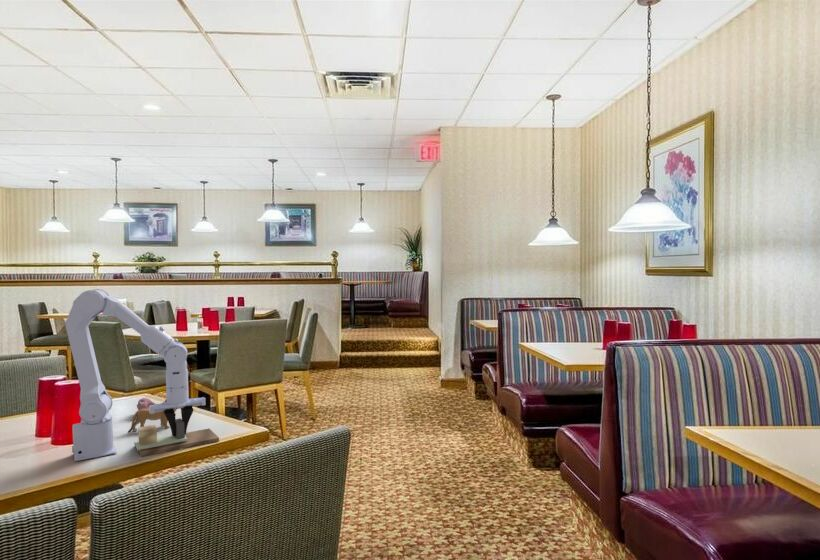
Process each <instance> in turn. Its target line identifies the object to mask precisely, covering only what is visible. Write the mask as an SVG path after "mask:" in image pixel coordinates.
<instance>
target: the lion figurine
mask: <svg viewBox="0 0 820 560" xmlns="http://www.w3.org/2000/svg"><path fill="white" fill-rule="evenodd" d="M164 402H167V398H166V399H165V400H164V401H163V402H162V403H164ZM177 410H178V409H174V413H176V411H177ZM146 420H149V421H158V420H160V426H161V427H162V428H163V427H164V428H165V429H169V428H170V425H168V423H169V422H168V420H167V418H166V416H165V414H164V413H163V411H162V412H155V413H153V414H150V413H149V409H140V410H138V409H137V411H136V412H135V413H134V415H133V417H132V420H131V421H132V422H131V427H130V428H129V430H128V431H127V433H131V432H138V428H137V425H139V424H140V426H139V427H144V426H145V423H146Z"/></svg>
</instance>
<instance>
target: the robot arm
mask: <svg viewBox="0 0 820 560" xmlns="http://www.w3.org/2000/svg"><path fill="white" fill-rule="evenodd" d="M101 313H102V314H101ZM100 314H101V315H104V316H110V317H115V318H116V319H118V320H120V321H121V322H122V323H124V324H126V325H127V326H128V327H130V328H131V329H133V331H135V332H137V333H138V334H140V341H141V342H142V343H143V345H144V344H145V345H146V346H147V347H148V348H149V349H150V350H152V351H153V352H155V353H156V354H158V356H162V357H163V360H164V363H165V366H166V369H165V390H166V391H165V393H166V395H165V396H166V399H167V402H165V401H163V402H164V403H163V402H159V403H155V405H150V406H149V413H150V414H153V413H155V412H162V411H163V413H164V414H165V416H166V418H167V420H168V422H167V423H168V424H169V425H168V426H169V428H170V431H171V434H172V435H173V436H176V427H175V419H176V412H174V409H177V410H180V414H181V419H182V420H183V421H184V428H185V434H186V433H187V431H188V425H189V422H190V419H191V417H192V415H193V413H194V408H193V407H198V406H206V397H204V396H202V397H195V398H194V397H193V398H189V372H188V371H189V370H188V362H187V359H188V348H187V347H186V346H185V345H184V343H183V342H179V339H177V338H174V337H172V336H171V335H170V334H168V333H167V332H166V331H165V327H163V326H158V325H157V324H153V325H149V324H148V323H147V322H146V321H144V319H142V317H140V316H139V315H137V314H136V313H135V312H134V311H133V310H132V309H130V308H129V307H128V306H127V305H126V304H124V303H123V302H122V301H120V300H119V299H118V298H116V297H115V296H113V295H111V294H109V293H108V292H107V291H106V290H104V289H100V288H95V289H90V290H89V289H88V290H85V291H83V292H82V293H80V294H79V295H78V296H77V297H76V298H75V299H74V300H73V301H72V305H71V309H70V311H69V312H68V316H67V319H66V320H65V325H64V326H65V329H66V334H67V336H68V337H67V338H68V341H69V342H68V343H69V346H70V350H71V353H72V354H71V355H72V359H73V361H74V367H75V371H76V375H77V379H78V382H79V383H78V384H79V387H80V394H79V400H80V407H79V411H78V414H79V416H80V418H81V419H80V422H78V423H74V424H72V443H73V445H72V446H71V449H72V452H71V453H73V459H74V462H79V461H83V460H90V459H95V458H99V457H105V456H110V455H114V454H117V450H116V447H115V444H114V434H113V433H114V430H113V415H111V413H110V410H111V409H112V406H113V399H112V397H111V395H110V394H108V392H107V390H106V386H105V385H104V383H103V382H102V379H101V373H100V369H99V366H98V361H97V357H96V353H95V349H94V344H93V340H92V337H91V333H90V328H89V326H90V325H91V324H92V322H93V321H94V320H95V319H96V317H97V316H98V315H100Z"/></svg>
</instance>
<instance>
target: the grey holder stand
mask: <svg viewBox="0 0 820 560" xmlns="http://www.w3.org/2000/svg"><path fill="white" fill-rule="evenodd" d="M175 427H176V436H173V435H172V433H171V434H170V433H169V434H165V435H161V436H160V435H159V436H157V443H153V444H148V445H142V446H141V445H140V443H139V439H137V440H134V441H133V445H134V446H135V448H136V449H137V451H138V450H142V449H147V448H152V447H157V446H162V445H168V444H173V443H178V442H183V441H188V438H187V437H186V436H185V428H184V421H183V420H182V417H180V418H175Z"/></svg>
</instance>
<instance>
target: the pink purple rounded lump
mask: <svg viewBox="0 0 820 560" xmlns="http://www.w3.org/2000/svg"><path fill="white" fill-rule="evenodd" d="M155 404H156V403H155V402H154V401H152V400H150V399H149V398H148V397H141V398H140V399H139V400H138V401H137V404H136V408H137V411H138V410H140V409H149V406H150V405H155Z"/></svg>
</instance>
